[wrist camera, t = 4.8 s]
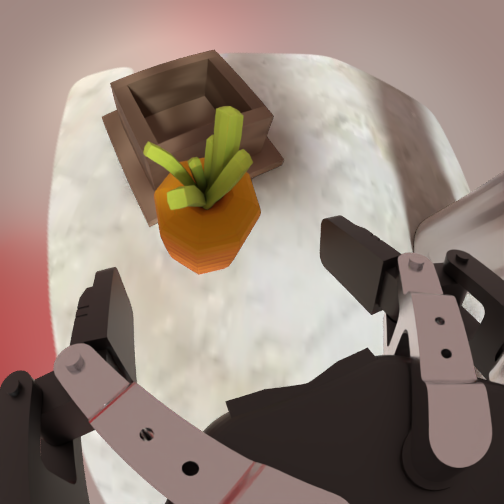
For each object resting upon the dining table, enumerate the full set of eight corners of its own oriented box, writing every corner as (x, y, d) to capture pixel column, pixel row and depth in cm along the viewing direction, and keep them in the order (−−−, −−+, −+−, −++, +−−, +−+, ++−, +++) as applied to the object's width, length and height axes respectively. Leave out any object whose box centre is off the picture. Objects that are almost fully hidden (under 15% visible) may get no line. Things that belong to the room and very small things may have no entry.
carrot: (196, 305, 21) (189, 247, 7) (159, 253, 22) (106, 125, 8) (247, 267, 23) (323, 160, 9) (210, 218, 23) (231, 69, 9)
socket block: (215, 81, 28) (221, 39, 22) (281, 165, 26) (301, 125, 20) (103, 123, 24) (90, 81, 19) (149, 227, 22) (135, 192, 17)
